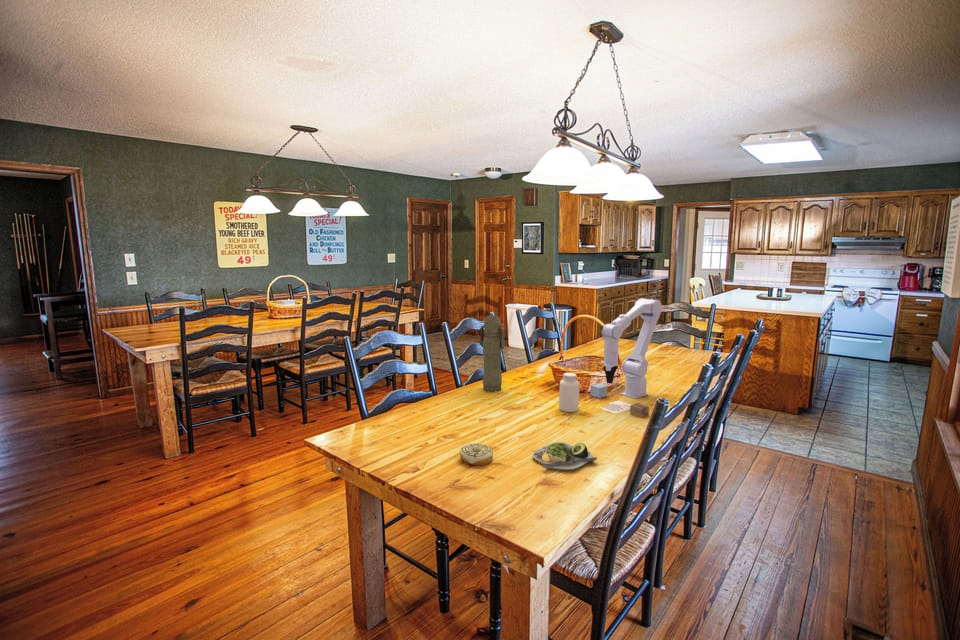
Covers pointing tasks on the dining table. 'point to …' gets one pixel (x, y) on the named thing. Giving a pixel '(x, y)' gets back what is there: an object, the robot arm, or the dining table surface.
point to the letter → (616, 407)
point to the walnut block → (639, 410)
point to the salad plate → (564, 456)
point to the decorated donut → (476, 454)
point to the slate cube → (598, 390)
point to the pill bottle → (569, 393)
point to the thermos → (492, 352)
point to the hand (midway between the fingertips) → (609, 383)
